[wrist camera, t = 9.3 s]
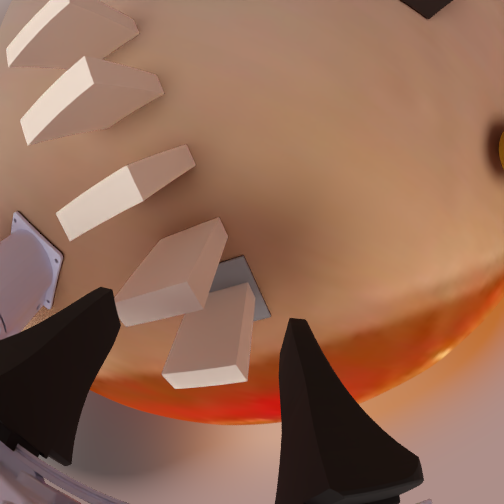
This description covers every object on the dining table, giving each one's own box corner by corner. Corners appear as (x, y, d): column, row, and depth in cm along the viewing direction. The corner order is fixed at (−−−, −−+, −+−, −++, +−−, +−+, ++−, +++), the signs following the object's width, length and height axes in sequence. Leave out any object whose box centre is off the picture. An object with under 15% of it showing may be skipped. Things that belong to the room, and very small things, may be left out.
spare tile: (191, 297, 22) (161, 374, 15) (248, 282, 21) (236, 364, 13) (200, 312, 22) (175, 388, 15) (255, 298, 21) (247, 381, 14)
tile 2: (100, 111, 15) (20, 120, 8) (156, 74, 14) (84, 55, 7) (107, 128, 16) (27, 145, 9) (164, 93, 15) (93, 83, 8)
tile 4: (160, 239, 20) (109, 304, 13) (219, 216, 19) (186, 281, 11) (169, 257, 20) (125, 326, 13) (228, 236, 19) (203, 309, 12)
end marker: (174, 276, 21) (173, 278, 21) (243, 255, 20) (243, 256, 20) (207, 330, 23) (206, 331, 23) (270, 315, 22) (271, 316, 22)
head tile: (81, 57, 13) (6, 49, 6) (133, 19, 12) (66, -14, 5) (86, 71, 14) (8, 67, 6) (139, 34, 12) (69, 2, 5)
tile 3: (127, 174, 17) (55, 213, 10) (186, 144, 16) (126, 165, 9) (136, 193, 18) (70, 241, 11) (196, 165, 17) (143, 200, 10)
